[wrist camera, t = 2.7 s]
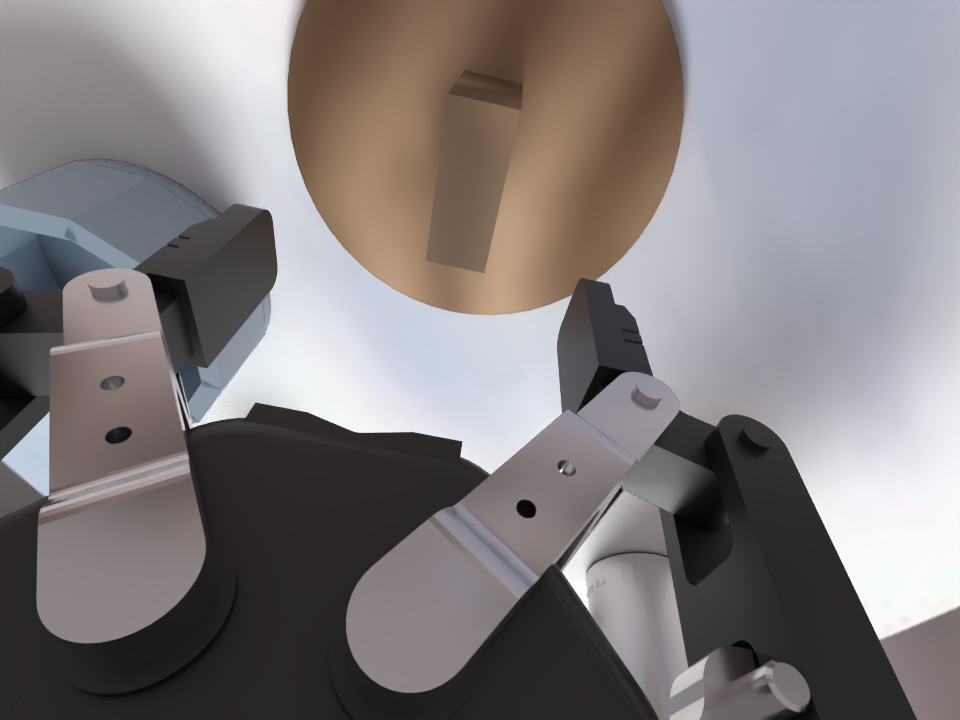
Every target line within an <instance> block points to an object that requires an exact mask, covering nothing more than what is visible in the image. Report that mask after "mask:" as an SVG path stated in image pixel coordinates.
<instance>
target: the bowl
mask: <svg viewBox="0 0 960 720" xmlns="http://www.w3.org/2000/svg"><path fill="white" fill-rule="evenodd" d="M219 215H220V214H219V213H218V212H217V211H216V210H215V209H214V208H213V207H211V206H210V205H209V204H207V203H206V202H205V201H204V200H202V199H201V198H200V197H198V196H197V195H196V194H194V193H193V192H191V191H189V190H188V189H186V188H185V187H183V186H182V185H180V184H178V183H176V182H174V181H172V180H171V179H169V178H167V177H165V176H163V175H161V174H158V173H156V172H153V171H151V170H148V169H146V168H143V167H140V166H136V165H133V164H129V163H125V162H119V161H113V160H99V159H92V160H83V161H72V162H70V163H67V164H65V165H62V166H60V167H57V168H55V169H52V170H50V171H47V172H44V173H42V174H39V175H37V176H34V177H32V178H29V179H27V180H24V181H22V182H19V183H17V184H14V185H12V186H9V187H7V188H4V189H1V190H0V267H3V268H6V269H8V270H9V271H11V272H12V273H13V275H14V277H15V279H16V281H17V283H18V284H19V286H20V288H21V290H38V291H63V289H64V287H65V285H66V284H67V283H68V282H69V281H71V280H72V279H74V278H76V277H78V276H80V275H82V274H85V273H88V272H91V271H96V270H101V269H111V268H122V269H130V270H133V269H134V268H135V267H137V266H138V265H139V264H141V263H142V262H143V261H145V260H146V259H147V258H149V257H150V256H151V255H153V254H154V253H155V252H157V251H158V250H159V249H161V248H162V247H163V246H167V243H169V242H170V241H171V240H173V239H174V238H175V237H177V238H178V235H179V234H181V233H182V232H183V231H185V230H186V229H187V228H189V227H190V226H191V225H194V224H197V223H200V222H202V221H205V220H208V219H211V218H213V219H216V218H217V217H218V216H219ZM270 313H271V308H270V296H269V293H268V294H267V296H266V297H265V298H264V299H263V301H262V302H261V303H260V304H259V305H258V307H257V308H256V309H255V310H254V312H253V313H252V314H251V315H250V317H249V318H248V319H247V320H246V322H245V323H244V324H243V325H242V326H241V328H240V329H239V330H238V331H237V333H236V334H235V335H234V336H233V338H232V339H231V340H230V341H229V342H228V344H227V345H226V346H225V347H224V349H223V350H222V351H221V352H220V354H219V355H218V356H217V357H216V358H215V360H214V361H213V362H212V363H211V365H210V366H209V367H208V368H202V367H197V366H192V365H187V364H185V365H184V366H183V367H182V368H181V369H180V370H179V373H180V377H181V380H182V384H183V388H184V392H185V396H186V400H187V404H188V408H189V412H190V416H191V420H192V424H193V423H198V422H200V420H201V419H202V418H203V416H204V415H205V414H206V413H207V411H208V410H209V409H210V407H211V406H212V405H213V403H214V402H215V401H216V399H217V398H218V397H219V395H220V394H221V393H222V391H223V390H224V389H225V387H226V386H227V385H228V383H229V382H230V381H231V379H232V378H233V377H234V375H235V374H236V373H237V371H238V370H239V369H240V368H241V366H242V365H243V363H244V362H245V361H246V359H247V358H248V357H249V355H250V354H251V353H252V351H253V350H254V348H255V347H256V346H257V345H258V343H259V342H260V341H261V339H262V338H263V336H264V335H265V334H266V333H265V332H266V330H267V327H268V324H269V320H270Z"/></svg>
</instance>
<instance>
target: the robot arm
mask: <svg viewBox="0 0 960 720" xmlns="http://www.w3.org/2000/svg"><path fill="white" fill-rule="evenodd" d="M276 277H277V258H276V248H275V238H274V229H273V220H272V216H271V214H270V212H269V211H268V210H265V209H260V208H256V207H251V206H246V205H242V204H234V205H232V206H231V207H230V208H228V209H227V210H226V211H224V212H223V213H222V214H221V215H219V216H218V217H217V218H216V219H213V218H211V219H208V220H205V221H202V222H200V223H197V224H194V225H191V226H190V227H189V228H187V229H186V230H185V231H183V232H182V233H181V234H179V235H178V238H177V237H175V238H174V239H173V240H171V241H170V242H169V243H167V246H163V247H162V248H161V249H159V250H158V251H157V252H155V253H154V254H153V255H151V256H150V257H149V258H147V259H146V260H145V261H143V262H142V263H141V264H139V265H138V266H137V267H135V268H134V269H133V270H130V269H122V268H111V269H101V270H96V271H91V272H88V273H85V274H82V275H80V276H78V277H76V278H74V279H72V280H71V281H69V282H68V283H67V284H66V285H65V287H64V289H63V291H38V290H21V288H20V286H19V284H18V283H17V281H16V279H15V277H14V275H13V273H12V272H11V271H9V270H8V269H6V268H3V267H0V461H1V460H2V459H3V458H4V457H5V456H6V455H7V454H8V453H9V452H10V451H11V450H12V449H13V448H14V447H15V446H16V445H17V444H18V443H19V442H20V441H21V440H22V439H23V438H24V437H25V436H26V435H27V434H28V433H29V431H30V430H31V429H32V428H33V427H34V426H35V425H36V424H37V423H38V422H39V421H40V420H41V419H42V418H43V417H44V416H45V415H46V414H47V413H48V412H49V411H50V438H49V495H48V496H46V497H44V498H43V499H40V500H38V501H36V502H34V503H32V504H30V505H27V506H25V507H23V508H21V509H19V510H17V511H15V512H13V513H11V514H8V515H6V516H5V517H2V518H0V720H917V719H916V716H915V714H914V712H913V710H912V708H911V706H910V704H909V702H908V700H907V697H906V695H905V693H904V691H903V689H902V687H901V685H900V683H899V681H898V679H897V677H896V674H895V673H894V670H893V668H892V666H891V664H890V662H889V660H888V658H887V656H886V654H885V652H884V649H883V647H882V646H881V643H880V641H879V639H878V637H877V635H876V633H875V631H874V629H873V626H872V624H871V622H870V620H869V618H868V616H867V614H866V612H865V610H864V608H863V606H862V603H861V601H860V599H859V597H858V595H857V593H856V591H855V589H854V587H853V585H852V583H851V581H850V578H849V576H848V574H847V572H846V570H845V568H844V566H843V564H842V562H841V560H840V558H839V555H838V553H837V551H836V549H835V547H834V545H833V543H832V541H831V539H830V537H829V535H828V532H827V530H826V528H825V526H824V524H823V522H822V520H821V518H820V516H819V514H818V512H817V510H816V507H815V505H814V503H813V501H812V499H811V497H810V495H809V493H808V491H807V489H806V487H805V484H804V482H803V480H802V478H801V476H800V474H799V472H798V470H797V468H796V466H795V464H794V461H793V459H792V457H791V455H790V453H789V451H788V449H787V447H786V445H785V444H784V442H783V441H782V440H781V439H780V438H779V437H778V435H777V434H775V433H774V432H773V431H772V430H771V429H769V428H768V427H767V426H765V425H764V424H762V423H760V422H758V421H756V420H754V419H752V418H749V417H746V416H742V415H728V416H725V417H724V418H722V419H721V421H720V422H719V423H718V425H717V426H716V427H715V426H713V425H710V424H708V423H706V422H703V421H701V420H699V419H696V418H694V417H692V416H689V415H687V414H685V413H683V412H682V411H680V410H679V409H680V404H679V401H678V398H677V396H676V395H675V393H674V392H673V391H672V390H671V389H670V388H669V387H668V386H667V385H666V384H664V383H663V382H662V381H660V380H658V379H657V378H655V377H653V374H652V371H651V368H650V365H649V362H648V358H647V355H646V352H645V349H644V345H642V343H643V342H642V339H641V336H640V335H639V329H638V326H637V323H636V320H635V318H634V317H633V316H632V315H631V313H630V312H629V311H628V310H627V309H626V308H625V306H621V305H617V304H615V302H614V298H613V295H612V291H611V287H610V285H609V284H608V283H603V282H598V281H594V280H589V279H584V278H581V279H580V280H579V281H578V283H577V285H576V288H575V290H574V293H573V295H572V298H571V301H570V303H569V306H568V309H567V311H566V314H565V317H564V319H563V322H562V324H561V327H560V331H559V335H558V341H557V353H558V366H559V379H560V392H561V405H562V414H561V415H560V416H559V417H558V418H556V419H555V420H554V421H553V422H552V423H551V424H549V425H548V426H547V427H546V428H545V429H544V430H542V431H541V432H540V433H539V434H538V435H537V436H536V437H534V438H533V439H532V440H531V441H530V442H529V443H527V444H526V445H525V446H524V447H523V448H522V449H520V450H519V451H518V452H517V453H516V454H515V455H513V456H512V457H511V458H510V459H509V460H508V461H506V462H505V463H504V464H503V465H502V466H501V467H499V468H498V469H497V470H496V471H495V472H494V473H492V474H491V475H490V474H489V473H488V472H486V471H485V470H483V469H482V468H481V467H479V466H477V465H476V464H474V463H472V462H470V461H469V460H466V459H464V458H462V457H460V454H461V447H462V441H457V440H451V439H446V438H441V437H435V436H430V435H425V434H419V433H414V432H395V433H357V432H353V431H350V430H348V429H345V428H343V427H341V426H338V425H336V424H334V423H331V422H329V421H326V420H324V419H322V418H319V417H317V416H315V415H312V414H310V413H308V412H302V411H297V410H292V409H287V408H281V407H276V406H271V405H265V404H260V403H255V404H254V406H253V407H252V409H251V410H250V412H249V414H248V415H247V417H246V418H235V419H226V420H220V421H215V422H211V423H207V424H203V425H200V426H197V427H194V428H193V424H192V420H191V416H190V412H189V408H188V404H187V400H186V396H185V392H184V388H183V384H182V380H181V377H180V373H179V370H180V369H181V368H182V367H183V366H184V365H185V364H187V365H192V366H197V367H202V368H208V367H209V366H210V365H211V363H212V362H213V361H214V360H215V358H216V357H217V356H218V355H219V354H220V352H221V351H222V350H223V349H224V347H225V346H226V345H227V344H228V342H229V341H230V340H231V339H232V338H233V336H234V335H235V334H236V333H237V331H238V330H239V329H240V328H241V326H242V325H243V324H244V323H245V322H246V320H247V319H248V318H249V317H250V315H251V314H252V313H253V312H254V310H255V309H256V308H257V307H258V305H259V304H260V303H261V302H262V301H263V299H264V298H265V297H266V296H267V294H268V293H269V292H270V291H271V289H272V288H273V286H274V284H275V281H276ZM624 491H627V492H629V493H631V494H633V495H635V496H637V497H639V498H641V499H644V500H646V501H648V502H650V503H652V504H654V505H656V506H658V507H659V509H660V514H661V520H662V525H663V531H664V536H665V542H666V547H667V553H668V558H667V557H664V556H660V555H655V554H647V553H628V554H620V555H616V556H612V557H608V558H606V559H603V560H600V561H599V562H597V563H595V564H594V565H593V566H592V567H591V568H590V569H589V570H588V572H587V574H586V582H587V599H588V605H589V611H588V610H587V608H586V607H585V605H584V604H583V602H582V601H581V599H580V598H579V596H578V595H577V594H576V592H575V591H574V589H573V588H572V586H571V585H570V583H569V582H568V580H567V579H566V577H565V576H564V574H563V573H562V571H563V570H564V568H565V567H566V566H567V564H568V563H569V562H570V560H571V559H572V558H573V556H574V555H575V553H576V552H577V551H578V549H579V548H580V547H581V545H582V544H583V543H584V541H585V540H586V539H587V537H588V536H589V535H590V534H591V532H592V531H593V530H594V529H595V527H596V526H597V525H598V524H599V522H600V521H601V520H602V519H603V517H604V516H605V515H606V514H607V512H608V511H609V510H610V508H611V507H612V506H613V505H614V503H615V502H616V501H617V500H618V498H619V497H620V496H621V495H622V493H623V492H624Z"/></svg>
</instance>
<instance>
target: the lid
mask: <svg viewBox="0 0 960 720" xmlns="http://www.w3.org/2000/svg"><path fill="white" fill-rule="evenodd" d="M288 116H289V124H290V132H291V139H292V143H293V147H294V151H295V155H296V160H297V164H298V166H299V169H300V172H301V175H302V177H303V180H304V183H305V186H306V188H307V190H308V192H309V194H310V196H311V198H312V200H313V202H314V204H315V206H316V208H317V210H318V212H319V213H320V215H321V217H322V218H323V220H324V221H325V223H326V225H327V226H328V228H329V229H330V231H331V232H332V233H333V234H334V236H335V237H336V238H337V239H338V241H339V242H340V243H341V245H342V246H343V247H344V248H345V249H346V250H347V251H348V252H349V253H350V254H351V255H352V256H353V257H354V258H355V259H356V260H357V261H358V262H359V263H360V264H361V265H362V266H363V267H364V268H366V269H367V270H368V271H369V272H370V273H372V274H373V275H374V276H375V277H376V278H378V279H379V280H381V281H382V282H384V283H386V284H387V285H389V286H390V287H392V288H393V289H395V290H397V291H399V292H401V293H402V294H404V295H406V296H408V297H410V298H412V299H415V300H417V301H420V302H422V303H425V304H428V305H430V306H433V307H437V308H441V309H444V310H448V311H453V312H459V313H466V314H476V315H500V314H512V313H518V312H523V311H529V310H533V309H536V308H539V307H543V306H546V305H549V304H552V303H554V302H557V301H559V300H561V299H564V298H566V297H568V296H570V295H572V294H573V293H574V290H575V288H576V285H577V283H578V281H579V280H580V279H581V278H584V279H589V280H594V281H595V280H596V279H597V278H599V277H600V276H602V275H603V274H604V273H606V272H607V271H608V270H609V269H610V268H611V267H612V266H613V265H614V264H615V263H617V262H618V261H619V260H620V259H621V258H622V257H623V256H624V255H625V254H626V252H627V251H628V250H629V249H630V248H631V247H632V245H633V244H634V243H635V242H636V241H637V240H638V238H639V237H640V235H641V234H642V232H643V231H644V229H645V228H646V226H647V225H648V224H649V222H650V221H651V219H652V217H653V215H654V213H655V211H656V210H657V208H658V206H659V204H660V202H661V200H662V198H663V196H664V193H665V191H666V188H667V186H668V183H669V180H670V178H671V175H672V172H673V169H674V165H675V161H676V157H677V153H678V149H679V145H680V138H681V129H682V121H683V80H682V73H681V65H680V58H679V52H678V48H677V45H676V41H675V37H674V34H673V30H672V26H671V23H670V20H669V18H668V16H667V13H666V11H665V9H664V6H663V4H662V2H661V0H307V2H306V5H305V7H304V10H303V12H302V15H301V17H300V20H299V22H298V26H297V30H296V34H295V38H294V42H293V46H292V50H291V57H290V65H289V74H288Z"/></svg>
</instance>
